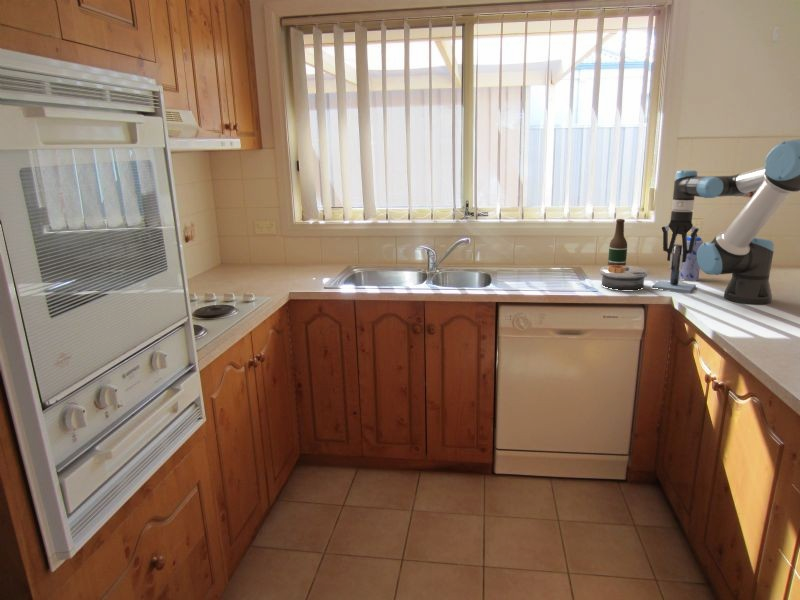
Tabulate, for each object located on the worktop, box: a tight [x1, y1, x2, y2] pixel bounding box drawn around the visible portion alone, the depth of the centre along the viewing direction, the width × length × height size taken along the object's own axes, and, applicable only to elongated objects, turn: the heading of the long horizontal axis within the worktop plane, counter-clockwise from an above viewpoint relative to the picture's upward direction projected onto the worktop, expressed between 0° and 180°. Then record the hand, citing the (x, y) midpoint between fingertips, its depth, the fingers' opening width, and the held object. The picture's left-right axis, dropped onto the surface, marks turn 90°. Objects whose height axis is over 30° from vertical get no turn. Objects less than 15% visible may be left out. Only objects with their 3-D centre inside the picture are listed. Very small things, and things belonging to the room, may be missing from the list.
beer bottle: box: [607, 218, 628, 266], centre depth 258 cm, size 8×8×24 cm
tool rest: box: [651, 280, 697, 294], centre depth 227 cm, size 14×12×1 cm
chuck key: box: [669, 243, 683, 285], centre depth 224 cm, size 3×3×16 cm
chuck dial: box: [599, 265, 649, 279], centre depth 229 cm, size 18×18×4 cm
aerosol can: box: [679, 232, 704, 281], centre depth 240 cm, size 8×8×20 cm
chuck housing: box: [601, 275, 645, 290], centre depth 230 cm, size 16×16×5 cm
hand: (675, 269), depth 225 cm, fingers closed on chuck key, 3 cm apart
